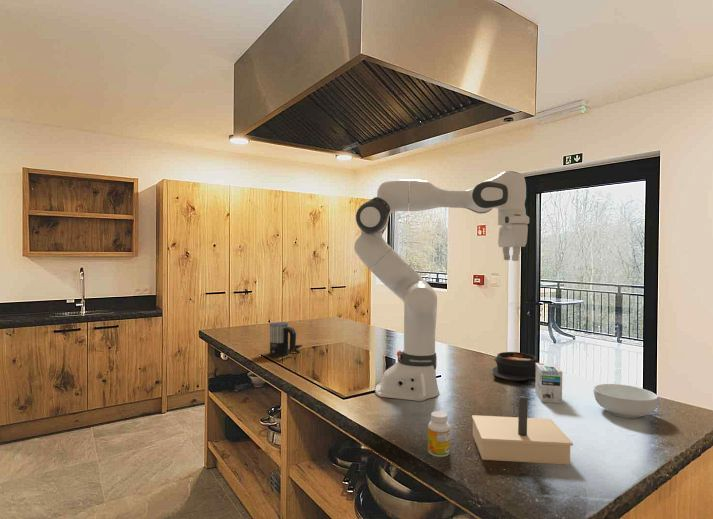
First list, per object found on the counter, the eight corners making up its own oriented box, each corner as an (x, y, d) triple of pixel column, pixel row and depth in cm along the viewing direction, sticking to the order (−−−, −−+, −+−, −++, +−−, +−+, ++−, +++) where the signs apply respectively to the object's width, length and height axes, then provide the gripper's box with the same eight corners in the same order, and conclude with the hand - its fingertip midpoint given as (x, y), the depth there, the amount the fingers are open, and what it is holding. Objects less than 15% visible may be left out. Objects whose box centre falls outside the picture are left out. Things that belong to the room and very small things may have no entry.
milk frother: (266, 356, 204) (266, 324, 204) (277, 348, 220) (277, 319, 219) (295, 357, 202) (295, 325, 201) (304, 350, 217) (304, 320, 217)
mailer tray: (482, 461, 103) (482, 440, 103) (472, 436, 117) (472, 417, 117) (569, 466, 101) (570, 444, 101) (549, 440, 115) (549, 421, 115)
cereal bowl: (647, 408, 140) (648, 386, 140) (665, 427, 124) (666, 403, 124) (589, 401, 145) (589, 380, 145) (599, 419, 130) (599, 396, 130)
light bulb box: (562, 404, 143) (563, 371, 143) (540, 402, 144) (541, 370, 144) (554, 393, 153) (555, 363, 153) (534, 392, 155) (534, 362, 154)
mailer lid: (481, 440, 102) (482, 400, 102) (471, 417, 117) (472, 382, 117) (572, 445, 100) (573, 404, 100) (551, 421, 115) (551, 385, 115)
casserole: (506, 366, 189) (506, 347, 189) (550, 374, 177) (551, 354, 177) (481, 378, 171) (481, 357, 170) (529, 389, 158) (529, 366, 158)
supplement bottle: (425, 448, 110) (425, 410, 109) (446, 447, 110) (446, 409, 110) (430, 458, 104) (431, 418, 104) (452, 457, 105) (453, 418, 104)
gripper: (494, 221, 157) (493, 259, 158) (511, 217, 137) (510, 261, 137) (511, 222, 157) (511, 260, 157) (531, 217, 137) (530, 261, 137)
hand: (510, 260), depth 147 cm, fingers open, 8 cm apart
